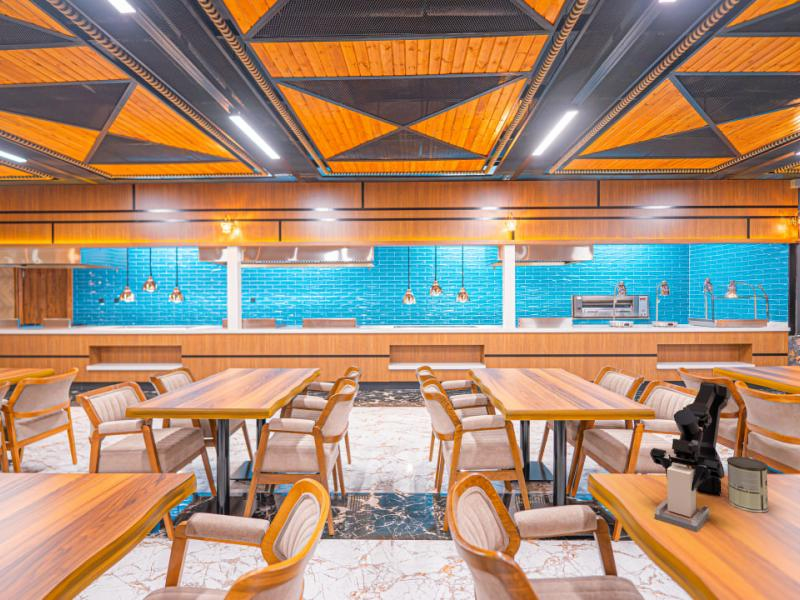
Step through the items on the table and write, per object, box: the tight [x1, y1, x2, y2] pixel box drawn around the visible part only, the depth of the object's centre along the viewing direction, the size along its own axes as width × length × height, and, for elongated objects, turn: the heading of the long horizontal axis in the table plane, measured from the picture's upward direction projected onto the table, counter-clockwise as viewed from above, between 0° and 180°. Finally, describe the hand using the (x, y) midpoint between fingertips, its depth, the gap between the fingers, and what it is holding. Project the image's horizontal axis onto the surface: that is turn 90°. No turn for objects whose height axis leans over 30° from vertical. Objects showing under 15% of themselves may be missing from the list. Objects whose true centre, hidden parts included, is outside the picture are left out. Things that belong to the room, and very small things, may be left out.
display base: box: [654, 497, 710, 533], centre depth 134 cm, size 13×11×3 cm
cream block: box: [666, 464, 697, 517], centre depth 134 cm, size 6×6×12 cm
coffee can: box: [726, 456, 769, 514], centre depth 142 cm, size 10×10×14 cm
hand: (680, 487), depth 134 cm, fingers closed on cream block, 6 cm apart
